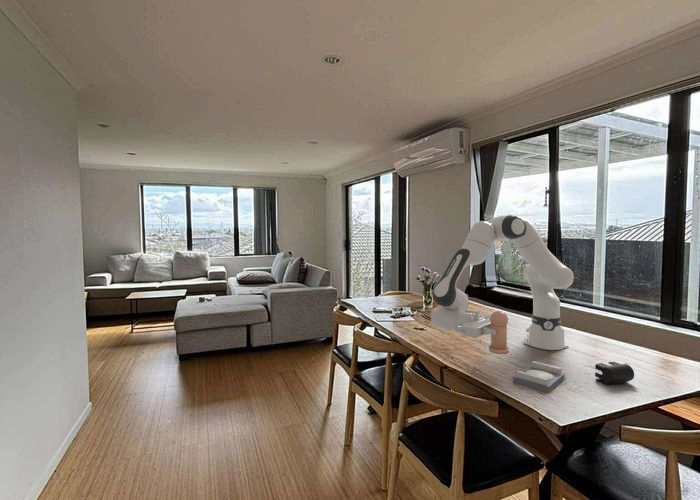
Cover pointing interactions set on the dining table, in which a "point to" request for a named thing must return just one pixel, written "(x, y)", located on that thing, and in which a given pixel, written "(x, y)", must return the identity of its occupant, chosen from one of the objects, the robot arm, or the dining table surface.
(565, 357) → the dining table surface
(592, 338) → the dining table surface
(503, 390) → the dining table surface
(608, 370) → the end cap
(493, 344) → the ball-topped peg
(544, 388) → the display plinth
